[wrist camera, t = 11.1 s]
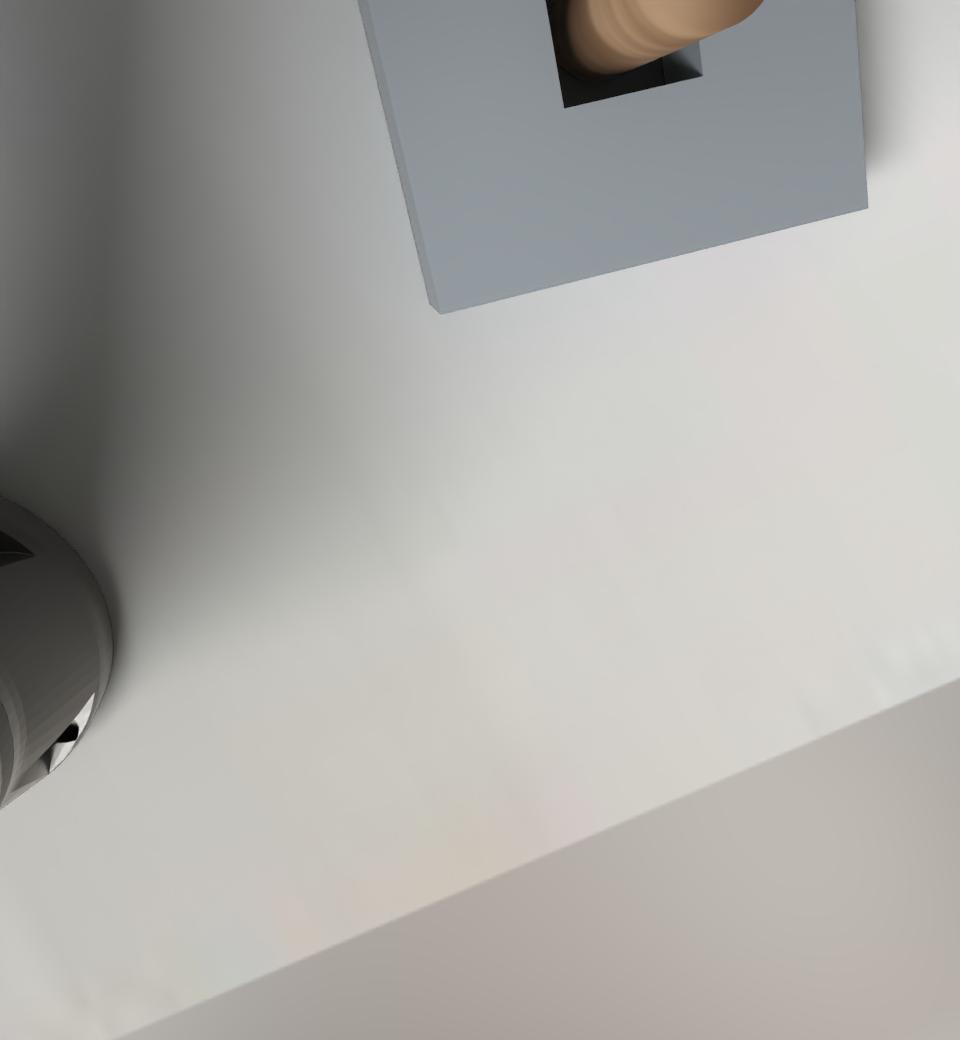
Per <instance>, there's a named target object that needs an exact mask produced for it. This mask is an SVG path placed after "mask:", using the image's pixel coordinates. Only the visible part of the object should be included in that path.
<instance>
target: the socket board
mask: <svg viewBox="0 0 960 1040" xmlns="http://www.w3.org/2000/svg"><path fill="white" fill-rule="evenodd" d="M358 3H359V7H360V12H361V16H362V20H363V24H364V29H365V33H366V37H367V41H368V45H369V50H370V54H371V58H372V62H373V67H374V71H375V75H376V79H377V83H378V88H379V92H380V96H381V100H382V105H383V109H384V113H385V117H386V121H387V126H388V130H389V134H390V138H391V143H392V147H393V151H394V155H395V159H396V164H397V168H398V172H399V176H400V181H401V185H402V189H403V193H404V198H405V202H406V206H407V210H408V214H409V219H410V223H411V227H412V231H413V236H414V240H415V244H416V248H417V252H418V257H419V261H420V265H421V269H422V274H423V278H424V282H425V286H426V290H427V295H428V299H429V303H430V305H431V306H432V307H433V308H434V309H435V310H436V311H437V312H439V313H440V314H441V315H442V314H446V313H450V312H454V311H458V310H462V309H466V308H470V307H474V306H478V305H482V304H486V303H490V302H494V301H498V300H502V299H506V298H510V297H514V296H518V295H522V294H526V293H530V292H534V291H538V290H542V289H546V288H550V287H554V286H558V285H562V284H566V283H570V282H574V281H578V280H582V279H586V278H590V277H594V276H598V275H602V274H606V273H610V272H614V271H618V270H622V269H626V268H630V267H634V266H638V265H642V264H646V263H650V262H655V261H659V260H663V259H667V258H671V257H675V256H679V255H683V254H687V253H691V252H695V251H699V250H703V249H707V248H711V247H715V246H719V245H723V244H727V243H731V242H735V241H739V240H743V239H747V238H751V237H755V236H759V235H763V234H767V233H771V232H775V231H779V230H783V229H787V228H791V227H795V226H799V225H803V224H807V223H811V222H815V221H819V220H823V219H827V218H831V217H835V216H839V215H843V214H847V213H851V212H855V211H859V210H863V209H867V208H868V195H867V180H866V164H865V149H864V133H863V118H862V103H861V87H860V72H859V57H858V41H857V26H856V10H855V0H764V1H763V2H762V4H761V5H760V6H759V7H758V8H757V9H756V10H755V11H754V13H752V14H751V15H750V16H749V17H748V18H746V19H745V20H743V21H742V22H740V23H738V24H736V25H734V26H732V27H730V28H727V29H725V30H723V31H720V32H718V33H716V34H713V35H711V36H709V37H707V38H704V39H702V40H700V41H697V42H695V43H693V44H690V45H688V46H686V47H683V48H681V49H679V50H677V51H674V52H672V53H670V54H667V55H665V56H663V57H662V61H663V68H664V75H665V83H666V85H663V86H659V87H655V88H650V89H646V90H642V91H637V92H633V93H629V94H625V95H620V96H616V97H612V98H607V99H603V100H599V101H595V102H590V103H586V104H582V105H578V106H573V107H569V108H565V109H564V105H563V99H562V94H561V88H560V82H559V76H558V70H557V65H556V59H555V53H554V47H553V41H552V35H551V30H550V24H549V18H548V12H547V6H546V1H545V0H358Z"/></svg>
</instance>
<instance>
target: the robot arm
mask: <svg viewBox="0 0 960 1040" xmlns="http://www.w3.org/2000/svg"><path fill="white" fill-rule="evenodd" d="M112 657H113V638H112V628H111V623H110V618H109V614H108V610H107V607H106V604H105V601H104V599H103V596H102V594H101V591H100V589H99V587H98V585H97V583H96V581H95V580H94V578H93V576H92V574H91V573H90V571H89V570H88V568H87V567H86V565H85V564H84V562H83V561H82V560H81V558H80V557H79V556H78V554H77V553H76V552H75V551H74V550H73V549H72V548H71V546H70V545H69V544H68V543H67V542H66V541H65V540H64V539H63V538H62V537H61V536H60V535H59V534H57V533H56V532H55V531H54V530H53V529H51V528H50V527H49V526H48V525H47V524H45V523H44V522H43V521H41V520H40V519H38V518H37V517H36V516H34V515H32V514H31V513H29V512H28V511H26V510H25V509H23V508H21V507H19V506H17V505H16V504H14V503H12V502H10V501H8V500H5V499H3V498H1V497H0V810H1V809H2V808H4V807H5V806H6V805H8V804H9V803H10V802H12V801H13V800H14V799H16V798H17V797H19V796H20V795H21V794H23V793H24V792H25V791H27V790H28V789H29V788H31V787H32V786H33V785H35V784H36V783H38V782H39V781H40V780H42V779H43V778H44V777H46V776H47V775H48V774H50V773H51V772H52V771H53V770H54V769H55V768H56V767H57V766H59V765H60V764H61V763H62V762H63V761H64V760H65V759H66V757H67V756H68V755H69V754H70V753H71V752H72V750H73V749H74V748H75V747H76V745H77V744H78V743H79V741H80V740H81V739H82V737H83V736H84V734H85V732H86V731H87V729H88V727H89V725H90V724H91V721H92V719H93V717H94V715H95V713H96V710H97V708H98V706H99V704H100V702H101V699H102V697H103V695H104V692H105V690H106V687H107V684H108V680H109V676H110V672H111V666H112Z"/></svg>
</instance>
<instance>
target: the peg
mask: <svg viewBox="0 0 960 1040" xmlns="http://www.w3.org/2000/svg"><path fill="white" fill-rule="evenodd" d="M763 1H764V0H555V1H554V3H553V5H552V8H551V12H550V16H549V24H550V30H551V35H552V41H553V47H554V53H555V57H556V58H557V60H558V62H559V63H560V64H561V65H562V67H563V68H564V69H565V70H566V71H567V72H569V73H570V74H571V75H573V76H574V77H576V78H578V79H581V80H584V81H589V82H602V81H606V80H610V79H612V78H614V77H617V76H619V75H621V74H624V73H626V72H628V71H631V70H633V69H635V68H637V67H640V66H642V65H644V64H647V63H649V62H651V61H654V60H656V59H658V58H660V57H663V56H665V55H667V54H670V53H672V52H674V51H677V50H679V49H681V48H683V47H686V46H688V45H690V44H693V43H695V42H697V41H700V40H702V39H704V38H707V37H709V36H711V35H713V34H716V33H718V32H720V31H723V30H725V29H727V28H730V27H732V26H734V25H736V24H738V23H740V22H742V21H743V20H745V19H746V18H748V17H749V16H750V15H751V14H752V13H754V11H755V10H756V9H757V8H758V7H759V6H760V5H761V4H762V2H763Z"/></svg>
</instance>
